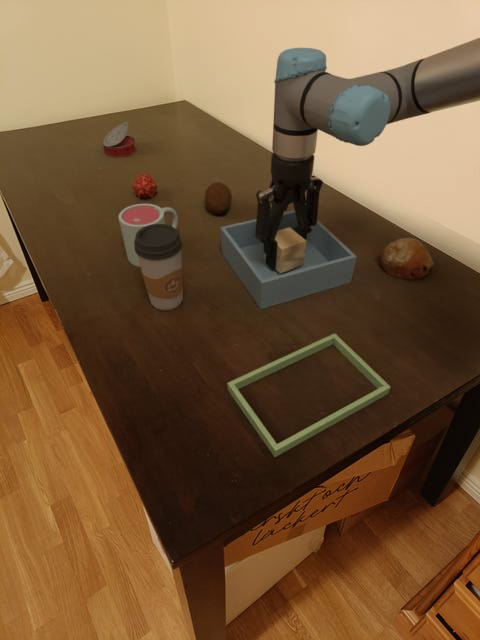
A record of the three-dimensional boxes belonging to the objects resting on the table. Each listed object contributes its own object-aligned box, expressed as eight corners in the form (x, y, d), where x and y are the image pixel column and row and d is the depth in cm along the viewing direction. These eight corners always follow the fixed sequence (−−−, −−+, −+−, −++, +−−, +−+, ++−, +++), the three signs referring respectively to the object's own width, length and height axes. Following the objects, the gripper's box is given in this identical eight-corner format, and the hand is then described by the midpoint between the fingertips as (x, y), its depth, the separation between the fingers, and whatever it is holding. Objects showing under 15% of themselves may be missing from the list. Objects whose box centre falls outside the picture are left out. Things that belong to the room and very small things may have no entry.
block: (287, 250, 94) (289, 226, 90) (303, 264, 90) (306, 240, 86) (264, 258, 92) (265, 234, 87) (280, 273, 88) (282, 249, 84)
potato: (225, 197, 114) (225, 171, 109) (237, 216, 107) (237, 190, 102) (200, 200, 113) (198, 175, 108) (210, 220, 105) (209, 194, 101)
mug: (144, 272, 90) (136, 231, 83) (119, 254, 95) (109, 214, 88) (193, 246, 97) (189, 206, 91) (167, 230, 102) (162, 192, 95)
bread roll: (401, 264, 98) (396, 231, 95) (444, 267, 90) (440, 231, 87) (374, 281, 94) (368, 247, 91) (416, 287, 86) (412, 249, 82)
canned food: (132, 169, 137) (123, 148, 127) (102, 163, 138) (92, 141, 128) (143, 141, 140) (136, 118, 130) (114, 135, 141) (105, 112, 131)
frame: (333, 340, 76) (334, 333, 75) (388, 393, 68) (391, 386, 66) (227, 389, 68) (227, 382, 67) (274, 457, 60) (275, 451, 59)
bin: (351, 282, 88) (357, 256, 83) (260, 309, 82) (261, 283, 78) (301, 232, 102) (304, 207, 97) (221, 252, 96) (220, 227, 91)
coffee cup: (160, 321, 80) (148, 254, 69) (137, 298, 84) (123, 233, 74) (196, 302, 83) (190, 236, 73) (173, 281, 88) (164, 217, 78)
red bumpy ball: (158, 199, 118) (154, 202, 110) (134, 196, 117) (128, 198, 110) (160, 175, 116) (156, 176, 108) (135, 171, 115) (129, 172, 108)
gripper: (322, 135, 80) (309, 239, 97) (235, 156, 74) (236, 265, 90) (349, 149, 76) (330, 256, 92) (258, 173, 69) (255, 284, 85)
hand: (283, 260), depth 91 cm, fingers closed on block, 6 cm apart
